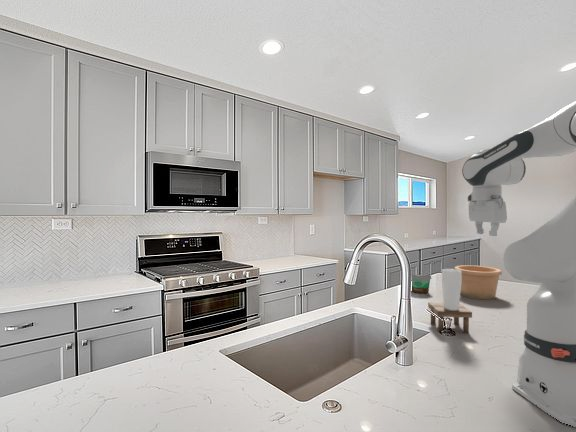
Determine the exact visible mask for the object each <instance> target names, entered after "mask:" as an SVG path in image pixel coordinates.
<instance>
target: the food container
mask: <svg viewBox="0 0 576 432" xmlns="http://www.w3.org/2000/svg"><path fill="white" fill-rule="evenodd" d="M411 275H412V292H411V293H414V294H416V295H417V294H418V295H427V294H429V289H430V282H431V279H432V275H431V274H429V275H422V274H417V275H416V274H411Z"/></svg>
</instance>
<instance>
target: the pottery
mask: <svg viewBox="0 0 576 432" xmlns="http://www.w3.org/2000/svg"><path fill="white" fill-rule="evenodd" d="M454 269H458V270H461V271H462V282H461V292H460V296H462V297H466V298H470V299H474V300H493V299H495V298H496V295H497V290H498V283H499V277H500V276H502V275H503V271H502V270H501V269H499V268H495V267H492V266H491V267H490V266H483V265H471V264H470V265H466V264H465V265H464V264H463V265H462V264H461V265H456V266H454Z"/></svg>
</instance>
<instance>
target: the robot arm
mask: <svg viewBox="0 0 576 432" xmlns="http://www.w3.org/2000/svg"><path fill="white" fill-rule="evenodd" d="M575 152H576V100H575V101H573V102H571V103H570V104H568V105H566V106H565V107H563V108H561V109H560V110H559V111H557V112H556V113H554V114H552V115H551V116H549V117H547V118H546V119H543V120H542V121H541V122H539V123H536V124H535V125H533V126H531V127H529V128H526V129H525V130H523V131H520V132H518V133H516V134H513V135H512V136H511V137H508V138H507V139H505V140H503V141H501V142H499V143H498V144H496V145H495V146H493V147H491V148H486V149H482V150H480V151H478V152H476V153H475V154H473V155H471V156H470V157H468V158H467V160H465V162H464V163H463V166H462V170H461V171H462V172H461V174H462V176H463V178H464V180H465V181H466V182H467V183H468V184H469V186H472V191H471V193H470V194H469V195H467V198H466V199H467V202H469V203H468V218H469V220H470V222H474V225H475V228H476V234H477V235H484V232H485V231H484V228H483V224H484V223H490V230H489V236H491V237H497V236H498V230H499V227H500V224H505V223H506V222H507V219H508V215H507V214H508V212H507V205H506V201H504V198H503V197H502V196H503V195H502V189H503V188H502V185H503V186H509V185H510V186H511V185H515V184H518V183H520V182H521V181H522V180H523V178H524V177H525V175H526V170H527V166H526V162H525V161H524V160H523V159H531V158H547V157H548V158H550V157H561V156H565V155H569V154H572V153H575ZM502 258H503V259H502V261H503V265H504V268H505V270H506V272H507V273H508V274H509V275H510V276H511V277H513V279H516V280H518V281H523V282H528V283H533V284H534V283H535V284H540V285H539V287H538V289H537V291H536V292H535V293H534V294H533V295H532V296H531V297H529V298H528V301H527V304H526V329H525V330H524V335H523V345H524V346H525V348H524V350H523V352H522V353H521V355H520V356H519V359H518V367H517V377H516V381H515V382H513V383H512V385H511V389H512V390H514V391H515V392H516V393H518V394H519V395H520V396H522V397H523V398H525V399H526V400H528V401H529V402H531V403H532V404H534V406H536V405H537V406H536V407H538V408H539V409H540V410H542V411H543V412H545V413H546V414H547V413H548V414H547V415H549V416H550V415H551V416H550V417H551V418H553V417H554V418H553V419H555V418H556V419H557V420H559V421H560V422H562V423H561V424H563V423H565V424H564V425H566V424H568V425H567V426H569V425H571V426H570V427H572V426H573V428H576V194H575V195H574V196H573V198H572V199H570V201H569V202H568V203H567V204H566V205H565V206H564V208H563V209H561V211H560V212H558V213H557V214H556V215H555V216H553V218H551V219H549V220H548V221H547V222H546V223H544V224H543V225H541V226H540V227H538V228H537V229H536V230H534V231H532V233H530V234H529V235H527V236H525V237H523V238H521V239H519V240H516V241H514V242H512V243H510V244H509V245H508V246H507V247H506V248H505V250H504V252H503V257H502ZM556 419H555V420H556ZM557 420H556V421H557ZM559 421H558V422H559ZM560 422H559V423H560Z"/></svg>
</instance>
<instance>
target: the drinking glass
mask: <svg viewBox="0 0 576 432" xmlns="http://www.w3.org/2000/svg"><path fill="white" fill-rule="evenodd" d="M461 282H462V271H461V270H458V269H455V268H442V269H441V286H442V298H443V301H442V302H443V303H444V308H445V309H446V310H450V311H457V310H459V304H460V299H461V294H460V292H461Z"/></svg>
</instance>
